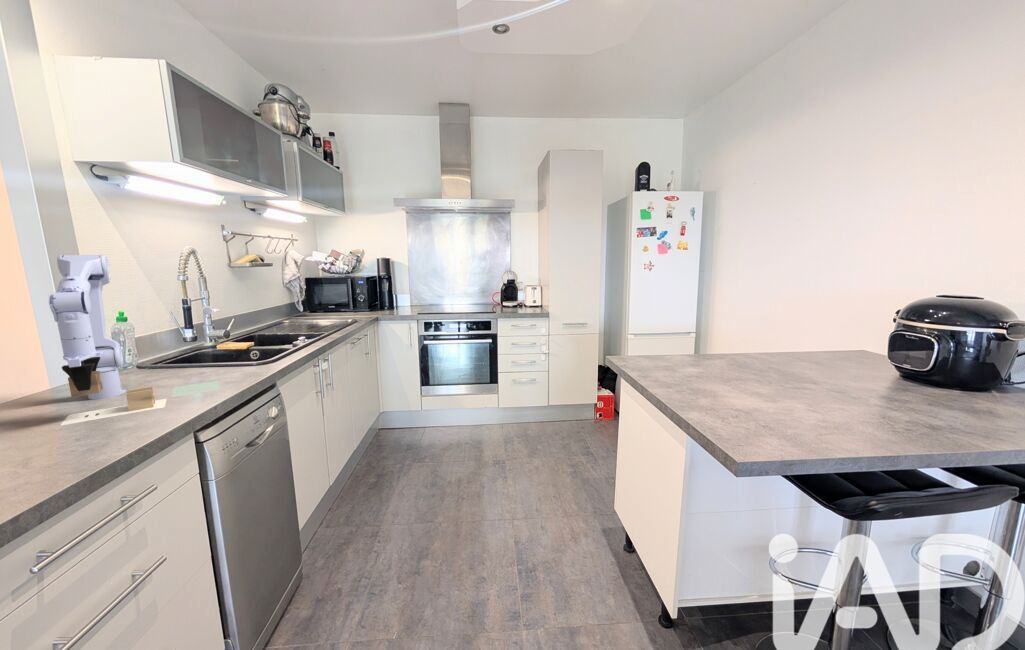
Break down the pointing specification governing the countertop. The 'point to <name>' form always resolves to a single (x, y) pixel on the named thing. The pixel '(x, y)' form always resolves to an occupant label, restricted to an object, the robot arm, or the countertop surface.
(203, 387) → the sage pad
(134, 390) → the oak block
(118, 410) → the board
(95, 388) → the walnut block
